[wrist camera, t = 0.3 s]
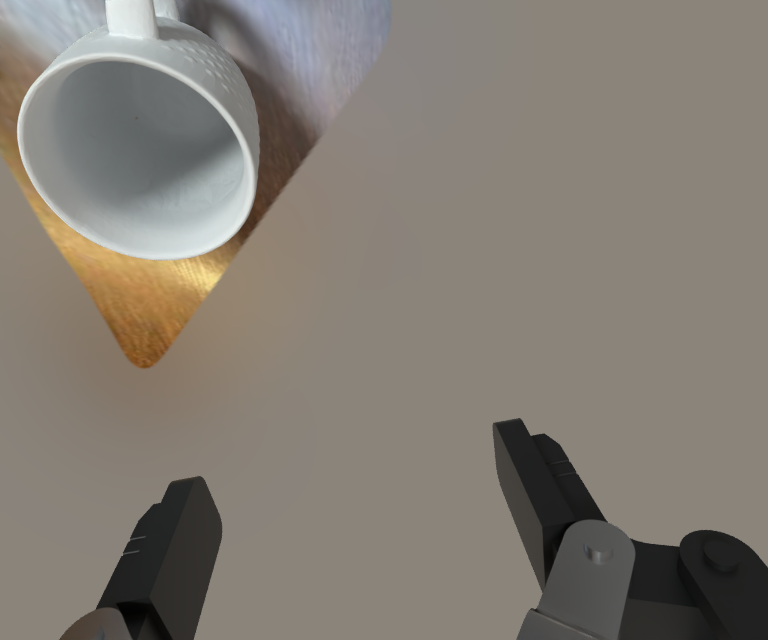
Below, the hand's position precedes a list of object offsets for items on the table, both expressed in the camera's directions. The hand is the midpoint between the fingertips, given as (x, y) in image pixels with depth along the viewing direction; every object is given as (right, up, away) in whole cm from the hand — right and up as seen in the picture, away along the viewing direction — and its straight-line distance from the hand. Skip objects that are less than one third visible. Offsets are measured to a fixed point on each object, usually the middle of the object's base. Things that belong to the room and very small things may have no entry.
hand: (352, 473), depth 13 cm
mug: (-13, +21, +20) cm, 32 cm away
